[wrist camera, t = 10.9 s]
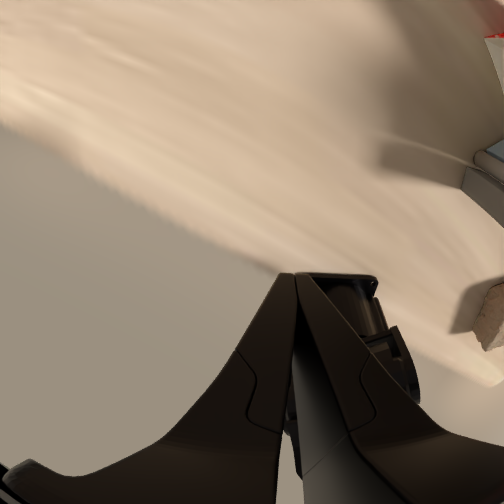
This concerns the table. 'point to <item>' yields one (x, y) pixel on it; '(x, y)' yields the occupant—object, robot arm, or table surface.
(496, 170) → the door
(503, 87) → the red white patterned box
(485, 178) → the door frame
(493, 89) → the table surface
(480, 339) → the brick
